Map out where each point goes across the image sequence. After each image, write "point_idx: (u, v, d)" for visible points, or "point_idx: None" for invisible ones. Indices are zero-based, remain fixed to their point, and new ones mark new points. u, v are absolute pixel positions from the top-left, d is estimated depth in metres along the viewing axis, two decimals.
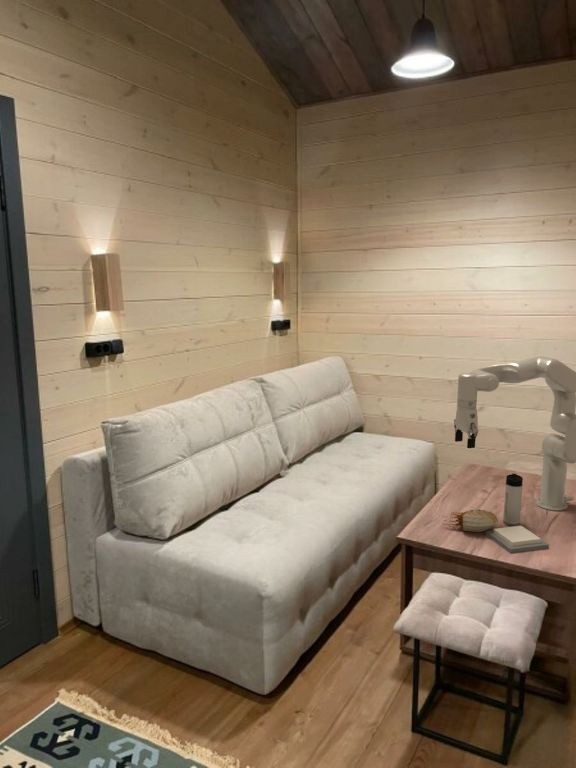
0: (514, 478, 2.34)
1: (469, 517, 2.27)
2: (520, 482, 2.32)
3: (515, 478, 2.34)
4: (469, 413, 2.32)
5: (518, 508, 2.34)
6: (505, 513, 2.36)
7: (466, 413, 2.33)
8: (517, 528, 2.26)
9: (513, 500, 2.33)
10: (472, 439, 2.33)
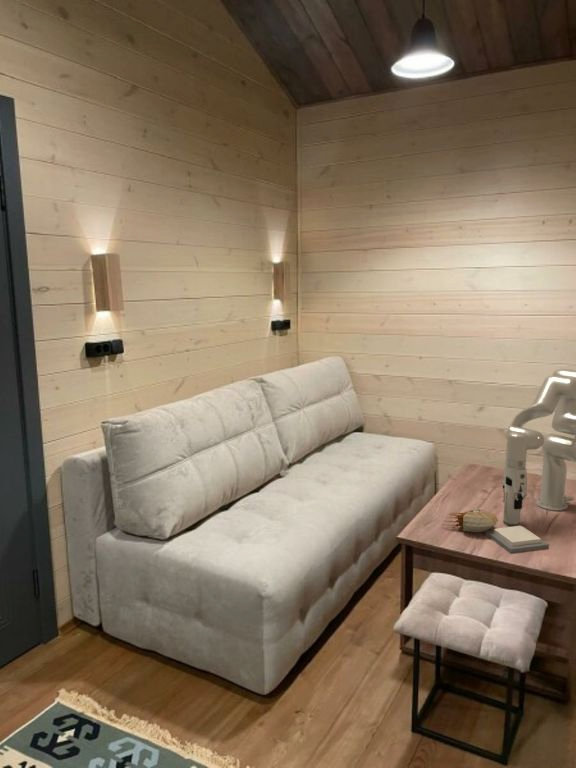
0: None
1: (469, 517, 2.27)
2: None
3: None
4: (519, 473, 2.29)
5: None
6: (505, 513, 2.36)
7: (516, 473, 2.30)
8: (517, 528, 2.26)
9: (513, 500, 2.33)
10: (519, 500, 2.31)
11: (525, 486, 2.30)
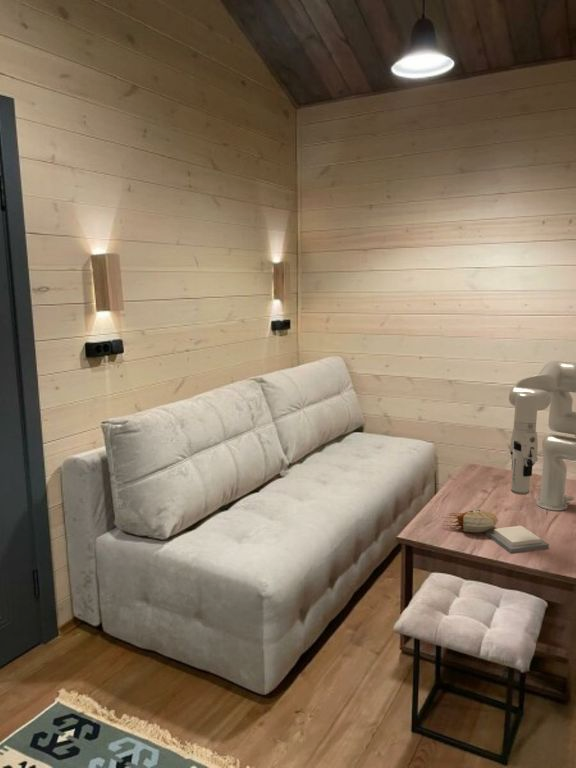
0: None
1: (470, 518, 2.26)
2: None
3: None
4: (528, 437, 2.10)
5: None
6: (513, 481, 2.17)
7: (525, 437, 2.10)
8: (517, 528, 2.26)
9: (522, 466, 2.13)
10: (529, 466, 2.12)
11: (535, 451, 2.11)
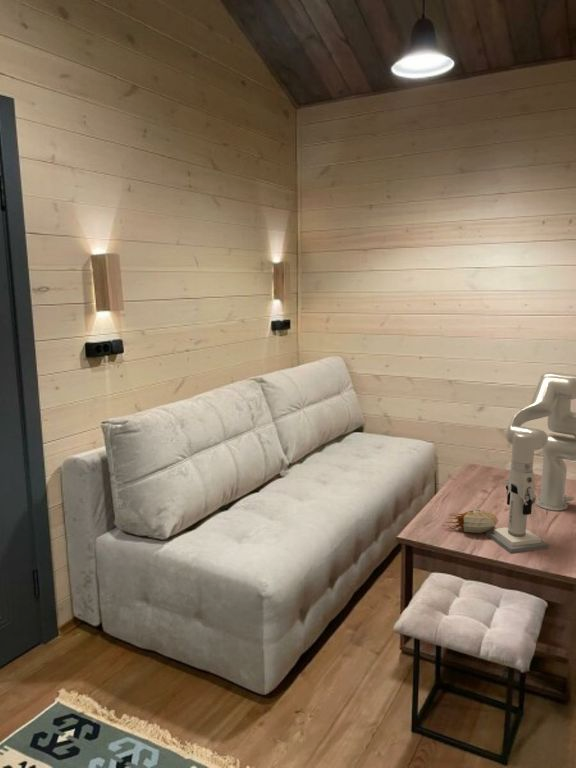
0: None
1: (470, 518, 2.26)
2: None
3: None
4: (525, 477, 2.12)
5: (524, 517, 2.17)
6: (510, 523, 2.20)
7: (522, 477, 2.13)
8: None
9: (519, 508, 2.17)
10: (528, 505, 2.13)
11: (532, 491, 2.13)
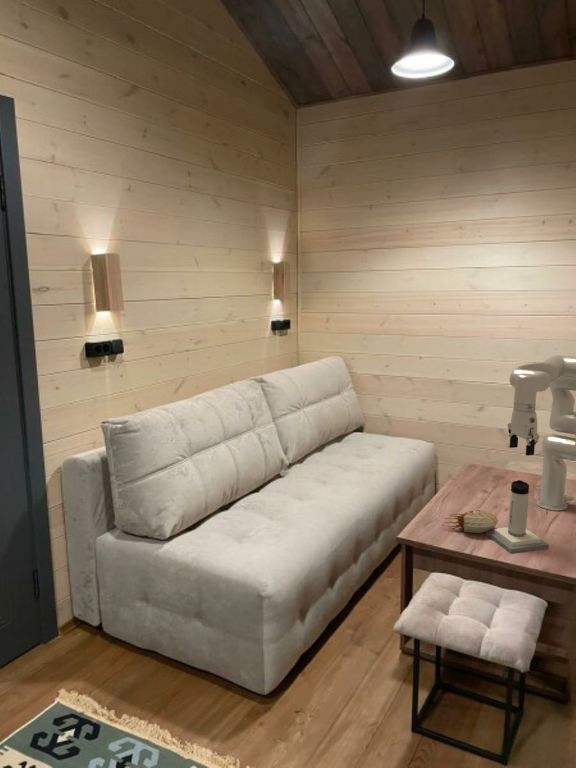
0: (520, 485, 2.18)
1: (470, 518, 2.26)
2: (526, 489, 2.16)
3: (521, 485, 2.18)
4: (528, 417, 2.13)
5: (524, 517, 2.17)
6: (510, 522, 2.20)
7: (525, 417, 2.13)
8: None
9: (519, 508, 2.17)
10: (531, 446, 2.13)
11: None
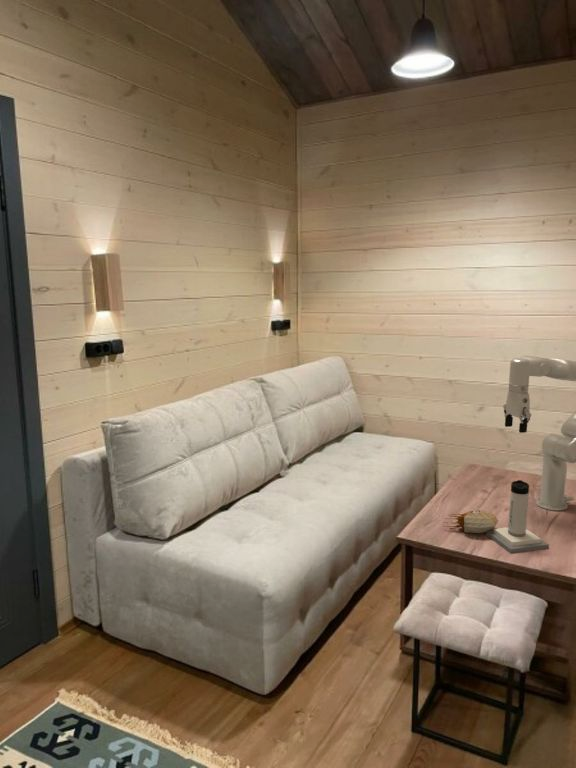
0: (520, 485, 2.18)
1: (470, 518, 2.26)
2: (526, 489, 2.16)
3: (521, 485, 2.18)
4: (521, 398, 2.35)
5: (524, 517, 2.17)
6: (510, 522, 2.20)
7: (518, 398, 2.36)
8: None
9: (519, 508, 2.17)
10: (524, 423, 2.36)
11: (528, 410, 2.36)
